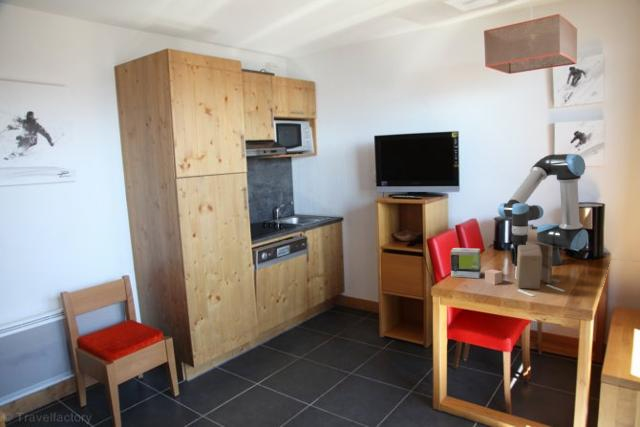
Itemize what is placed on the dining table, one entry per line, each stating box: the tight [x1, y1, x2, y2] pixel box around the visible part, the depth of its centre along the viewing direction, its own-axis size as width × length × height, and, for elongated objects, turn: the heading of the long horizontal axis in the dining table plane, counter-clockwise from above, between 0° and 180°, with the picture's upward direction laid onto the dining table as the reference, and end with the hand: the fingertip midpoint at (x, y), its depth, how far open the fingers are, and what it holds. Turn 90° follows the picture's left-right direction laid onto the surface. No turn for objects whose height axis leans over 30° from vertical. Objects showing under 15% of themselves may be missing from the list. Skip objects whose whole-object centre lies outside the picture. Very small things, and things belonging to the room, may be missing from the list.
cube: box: [484, 269, 503, 285], centre depth 235 cm, size 6×6×6 cm
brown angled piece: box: [526, 239, 561, 285], centre depth 236 cm, size 8×20×20 cm, turn 17°
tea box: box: [450, 247, 482, 279], centre depth 249 cm, size 15×10×15 cm
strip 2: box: [545, 284, 565, 292], centre depth 221 cm, size 2×10×1 cm, turn 17°
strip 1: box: [516, 288, 535, 297], centre depth 216 cm, size 2×10×1 cm, turn 17°
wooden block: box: [516, 245, 542, 290], centre depth 221 cm, size 10×10×20 cm
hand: (518, 278), depth 232 cm, fingers closed
